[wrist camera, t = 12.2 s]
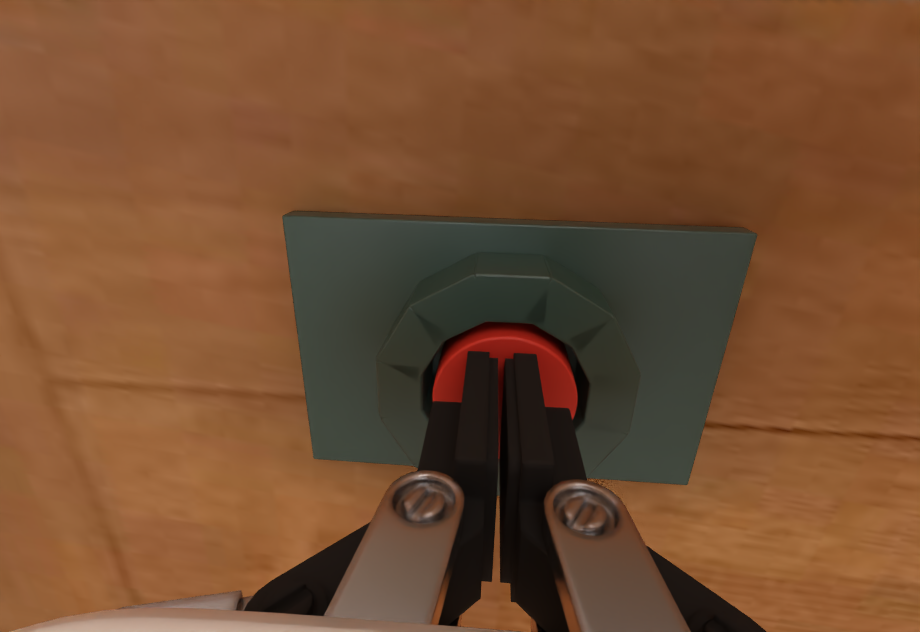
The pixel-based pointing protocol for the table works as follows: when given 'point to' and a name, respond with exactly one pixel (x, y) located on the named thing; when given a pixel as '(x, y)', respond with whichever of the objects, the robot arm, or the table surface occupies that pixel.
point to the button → (502, 345)
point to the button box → (514, 301)
